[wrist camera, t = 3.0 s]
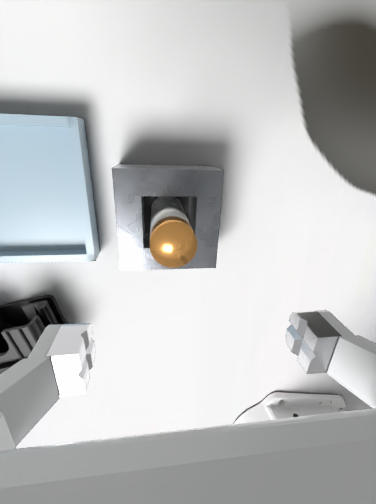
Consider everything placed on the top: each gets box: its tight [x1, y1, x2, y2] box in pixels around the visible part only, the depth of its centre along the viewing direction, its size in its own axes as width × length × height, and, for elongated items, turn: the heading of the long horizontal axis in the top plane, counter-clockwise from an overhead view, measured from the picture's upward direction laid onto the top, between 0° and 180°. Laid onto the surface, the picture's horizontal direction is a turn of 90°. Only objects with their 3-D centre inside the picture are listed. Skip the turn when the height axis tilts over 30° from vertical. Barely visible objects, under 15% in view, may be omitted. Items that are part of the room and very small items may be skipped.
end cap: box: [0, 295, 67, 374], centre depth 29 cm, size 10×7×7 cm
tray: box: [0, 113, 100, 263], centre depth 25 cm, size 16×14×2 cm
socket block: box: [112, 164, 224, 271], centre depth 26 cm, size 10×10×5 cm
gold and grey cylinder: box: [150, 196, 197, 268], centre depth 24 cm, size 4×4×11 cm
